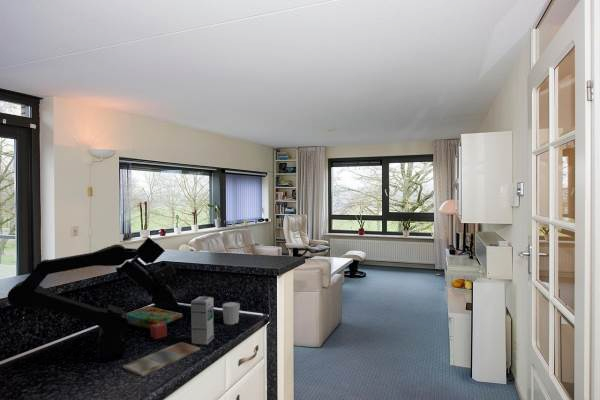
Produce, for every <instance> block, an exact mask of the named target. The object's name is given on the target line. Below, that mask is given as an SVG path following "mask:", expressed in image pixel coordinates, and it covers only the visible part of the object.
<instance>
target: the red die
mask: <svg viewBox="0 0 600 400" xmlns="http://www.w3.org/2000/svg"><path fill="white" fill-rule="evenodd" d="M167 327H168V324H167V325H166V324H164V323H162V322H160V323H156V324H152V325H151V329H150V337H151V338H152V339H154V340H158V339H162V338H165V337H166V338H167V337H168V328H167Z"/></svg>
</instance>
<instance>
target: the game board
mask: <svg viewBox="0 0 600 400" xmlns="http://www.w3.org/2000/svg"><path fill="white" fill-rule="evenodd" d="M199 350H201V347H200V346H199V347H198V346H196V345H192V344H189V343H186V342H183V341H180V342H177V343H175V344H173V345H170V346H167V347H165V348H162V349H160V350H159V351H156V352H153V353H151V354H149V355H145V356H143V357H142V358H139V359H136V360H134V361H131V362H129V363H127V364H124V365H123V366H122V368H123V369H124V370H127V371H129V372H132V373H134V374H136V375H139V376H141V377H145V376H146V375H149V374H152V373H153V372H155V371H157V370H159V369H162V368H163V367H166V366H168V365H170V364H172V363H174V362H177V361H178V360H182V359H183V358H185V357H187V356H189V355H192V354H194V353H196V352H198V351H199Z"/></svg>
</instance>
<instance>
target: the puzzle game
mask: <svg viewBox="0 0 600 400" xmlns="http://www.w3.org/2000/svg"><path fill="white" fill-rule="evenodd" d="M126 314H127V317H128V325H133V326H136V327H140V328H145V329H149V330H151V325H152V324H156V323H160V322H162V323H164V324H166V325H167V326H168V325H169V324H172V323H173V322H174V321H175V320H176V321H177V320H178V319H180V318H182V317H183V313H181V312H176V311H172V310H167V309H162V308H158V307H154V306H149V305H147V306H144V307H141V308H138V309H135V310H132V311H129V312H126Z"/></svg>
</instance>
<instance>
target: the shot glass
mask: <svg viewBox="0 0 600 400" xmlns="http://www.w3.org/2000/svg"><path fill="white" fill-rule="evenodd" d="M221 306H222V317H223V324H225V325H235V323H236V324H238V323H239V319H240V318H239V316H240V306H241V303H240V302H236V301H229V302H223V303H222V305H221Z"/></svg>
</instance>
